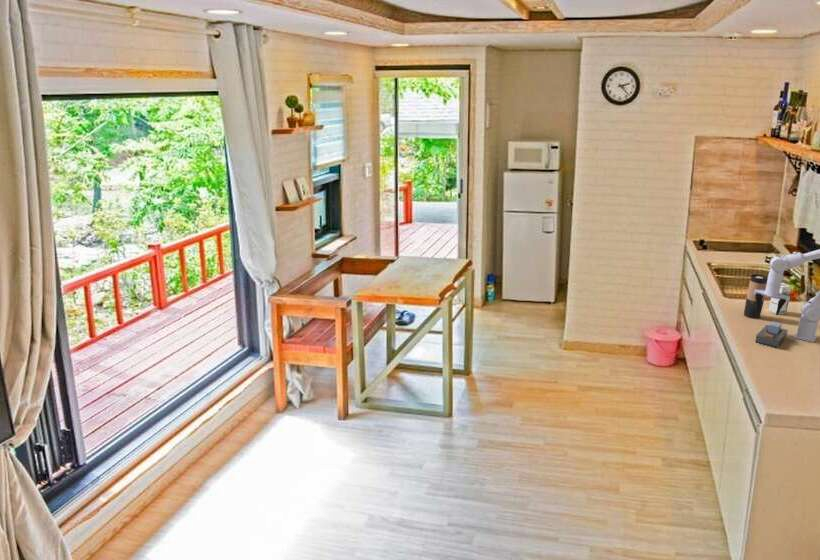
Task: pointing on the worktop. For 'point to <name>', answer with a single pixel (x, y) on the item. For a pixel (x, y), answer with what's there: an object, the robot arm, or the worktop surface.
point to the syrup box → (784, 290)
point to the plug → (774, 327)
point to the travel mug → (751, 303)
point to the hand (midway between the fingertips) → (767, 312)
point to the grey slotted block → (771, 337)
